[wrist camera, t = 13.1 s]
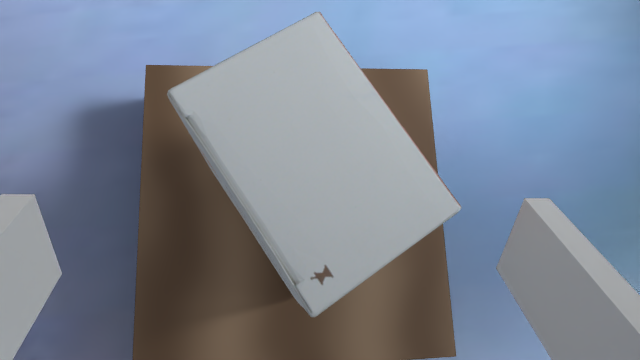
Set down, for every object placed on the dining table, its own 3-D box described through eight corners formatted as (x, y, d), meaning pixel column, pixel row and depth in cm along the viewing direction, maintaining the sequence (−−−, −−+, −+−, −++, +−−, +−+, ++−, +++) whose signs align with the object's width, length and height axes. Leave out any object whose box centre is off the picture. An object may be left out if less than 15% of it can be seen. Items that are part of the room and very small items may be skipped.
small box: (380, 239, 23) (472, 213, 13) (293, 300, 22) (315, 326, 11) (298, 118, 24) (321, 2, 13) (210, 171, 23) (161, 87, 12)
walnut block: (401, 102, 30) (427, 69, 25) (422, 340, 27) (456, 356, 22) (167, 100, 28) (146, 64, 23) (158, 358, 25) (131, 379, 20)
